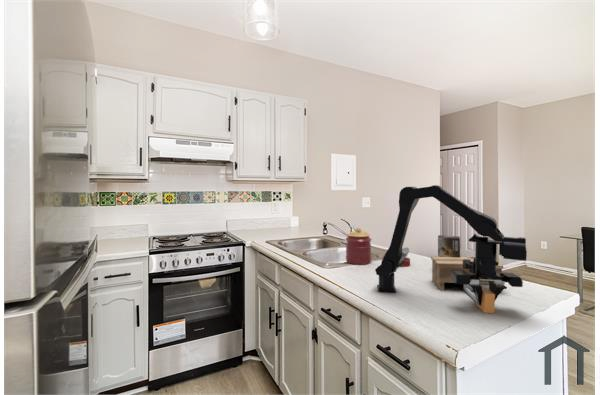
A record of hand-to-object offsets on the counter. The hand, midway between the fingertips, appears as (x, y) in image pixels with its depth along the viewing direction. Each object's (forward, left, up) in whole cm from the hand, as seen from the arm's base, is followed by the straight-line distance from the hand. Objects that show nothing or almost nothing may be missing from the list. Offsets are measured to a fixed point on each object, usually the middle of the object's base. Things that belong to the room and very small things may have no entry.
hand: (484, 305), depth 95 cm
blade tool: (+7, -3, -1) cm, 8 cm away
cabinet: (+21, -1, -1) cm, 21 cm away
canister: (+53, +39, -2) cm, 66 cm away
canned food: (+51, +19, -2) cm, 55 cm away
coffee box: (+41, -1, -2) cm, 41 cm away
